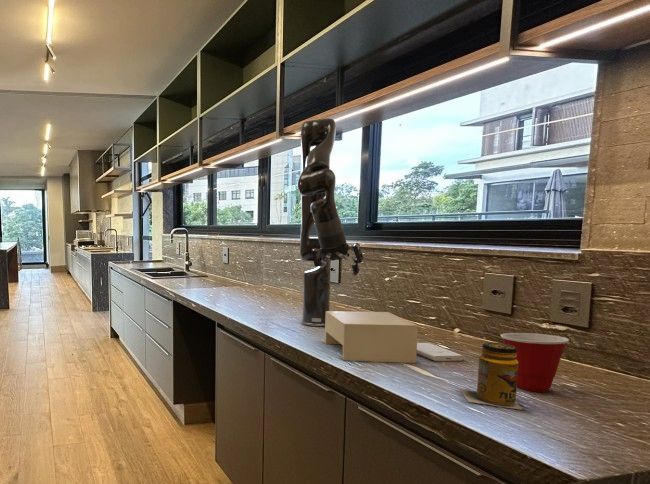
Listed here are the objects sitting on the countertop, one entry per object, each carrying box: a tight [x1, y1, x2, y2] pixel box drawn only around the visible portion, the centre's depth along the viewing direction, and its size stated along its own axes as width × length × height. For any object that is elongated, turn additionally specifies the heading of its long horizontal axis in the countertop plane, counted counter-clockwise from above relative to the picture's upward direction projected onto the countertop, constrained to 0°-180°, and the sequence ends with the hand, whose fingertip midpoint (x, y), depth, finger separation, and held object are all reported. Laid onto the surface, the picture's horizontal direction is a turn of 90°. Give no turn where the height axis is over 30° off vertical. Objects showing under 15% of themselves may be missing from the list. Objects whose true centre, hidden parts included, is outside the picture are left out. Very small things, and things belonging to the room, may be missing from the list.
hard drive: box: [417, 342, 465, 362], centre depth 118 cm, size 2×8×12 cm
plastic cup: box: [500, 332, 570, 393], centre depth 92 cm, size 11×11×12 cm
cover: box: [324, 310, 419, 364], centre depth 121 cm, size 18×18×10 cm
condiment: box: [459, 341, 523, 410], centre depth 86 cm, size 7×8×12 cm
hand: (341, 275), depth 136 cm, fingers open, 8 cm apart
